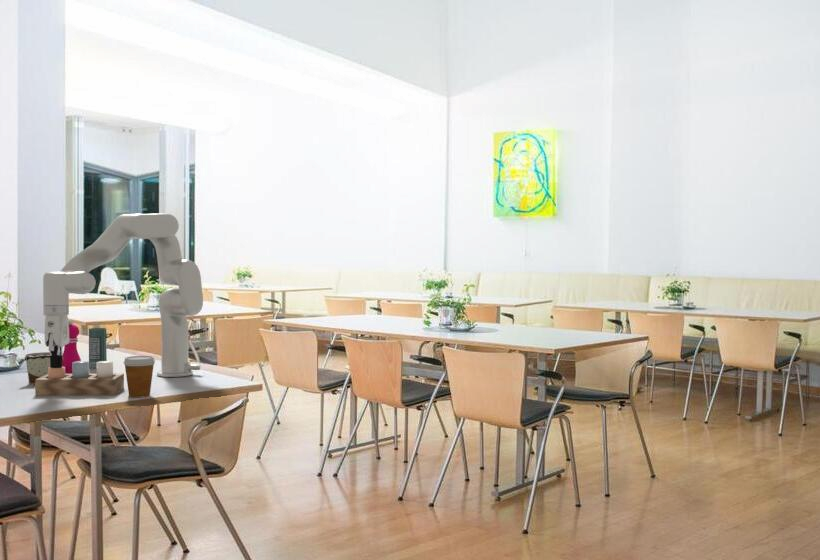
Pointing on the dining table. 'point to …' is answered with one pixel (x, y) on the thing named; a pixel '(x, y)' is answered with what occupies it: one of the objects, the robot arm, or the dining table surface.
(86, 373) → the slate egg
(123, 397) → the dining table surface
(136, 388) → the disposable coffee cup
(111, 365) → the white egg
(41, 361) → the food container
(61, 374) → the terracotta egg
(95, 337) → the dark green cylinder
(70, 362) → the pepper mill
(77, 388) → the wooden egg rack
